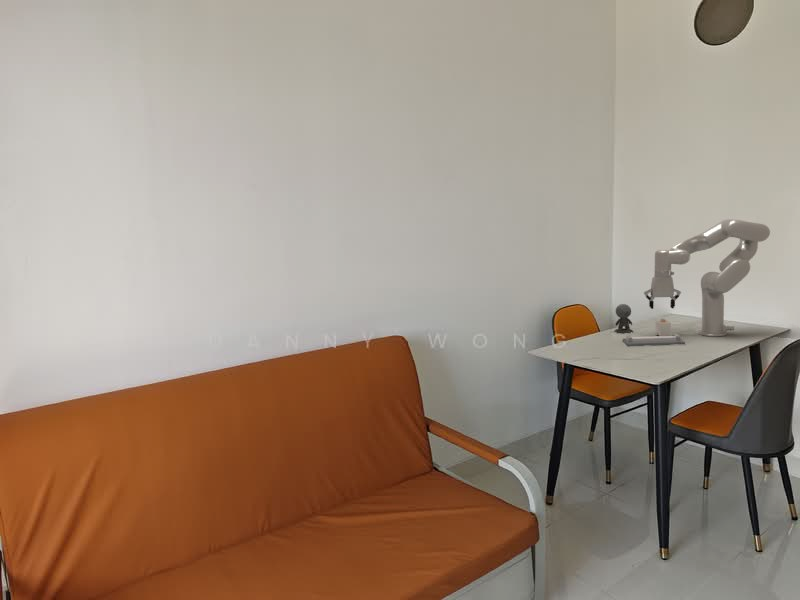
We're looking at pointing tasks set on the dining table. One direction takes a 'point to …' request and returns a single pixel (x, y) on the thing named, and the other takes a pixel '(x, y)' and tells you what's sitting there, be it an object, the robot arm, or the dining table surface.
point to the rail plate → (653, 340)
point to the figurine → (623, 319)
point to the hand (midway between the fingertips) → (661, 308)
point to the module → (663, 327)
